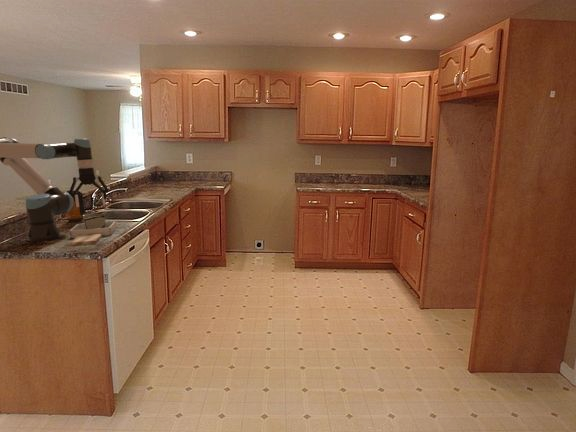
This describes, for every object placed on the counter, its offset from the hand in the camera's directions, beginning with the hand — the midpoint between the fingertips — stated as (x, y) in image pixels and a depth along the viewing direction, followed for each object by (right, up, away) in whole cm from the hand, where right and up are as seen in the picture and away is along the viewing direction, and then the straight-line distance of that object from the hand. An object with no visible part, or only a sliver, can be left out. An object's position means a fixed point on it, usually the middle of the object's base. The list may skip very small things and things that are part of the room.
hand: (91, 205), depth 223 cm
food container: (0, -15, +3) cm, 16 cm away
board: (+4, -18, -13) cm, 23 cm away
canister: (-26, -9, +35) cm, 45 cm away
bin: (0, -15, +3) cm, 15 cm away
